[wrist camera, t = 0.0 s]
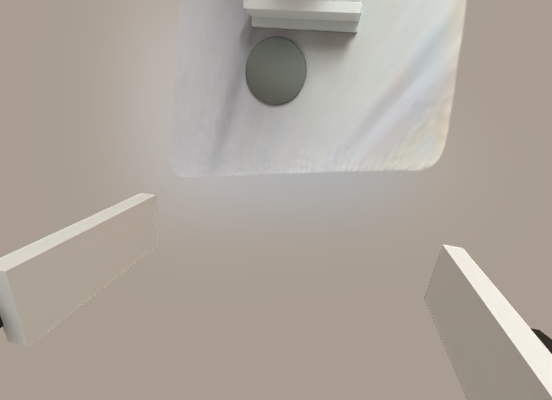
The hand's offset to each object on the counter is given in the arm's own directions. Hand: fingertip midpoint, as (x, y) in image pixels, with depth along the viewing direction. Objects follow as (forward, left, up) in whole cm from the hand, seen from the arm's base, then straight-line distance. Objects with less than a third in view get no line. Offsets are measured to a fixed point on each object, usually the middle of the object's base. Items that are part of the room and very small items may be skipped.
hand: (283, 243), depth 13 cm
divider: (-16, -4, -28) cm, 32 cm away
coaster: (-9, -7, -28) cm, 30 cm away
